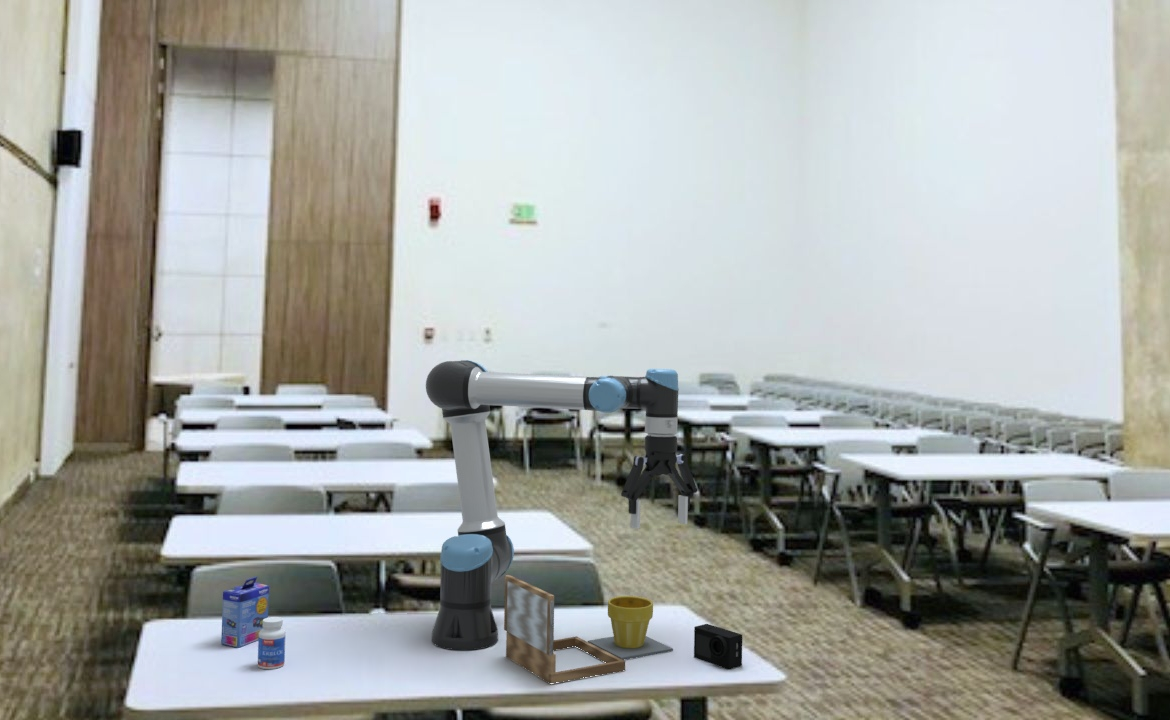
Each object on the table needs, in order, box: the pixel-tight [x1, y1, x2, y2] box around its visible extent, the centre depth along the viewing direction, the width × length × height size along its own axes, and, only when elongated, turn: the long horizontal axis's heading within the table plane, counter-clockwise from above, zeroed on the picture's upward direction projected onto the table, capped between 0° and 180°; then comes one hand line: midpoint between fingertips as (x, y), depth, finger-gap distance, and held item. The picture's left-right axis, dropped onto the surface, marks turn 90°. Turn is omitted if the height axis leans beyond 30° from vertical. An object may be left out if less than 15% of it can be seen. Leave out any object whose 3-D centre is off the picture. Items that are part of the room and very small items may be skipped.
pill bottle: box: [257, 616, 286, 670], centre depth 205 cm, size 6×5×10 cm
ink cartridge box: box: [220, 576, 270, 649], centre depth 222 cm, size 10×6×14 cm, turn 158°
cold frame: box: [503, 574, 626, 684], centre depth 210 cm, size 20×19×18 cm
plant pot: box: [607, 595, 654, 648], centre depth 223 cm, size 10×10×10 cm
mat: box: [587, 635, 674, 661], centre depth 223 cm, size 14×14×1 cm
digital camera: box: [693, 623, 743, 670], centre depth 213 cm, size 10×5×7 cm, turn 40°
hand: (659, 525), depth 229 cm, fingers open, 13 cm apart
